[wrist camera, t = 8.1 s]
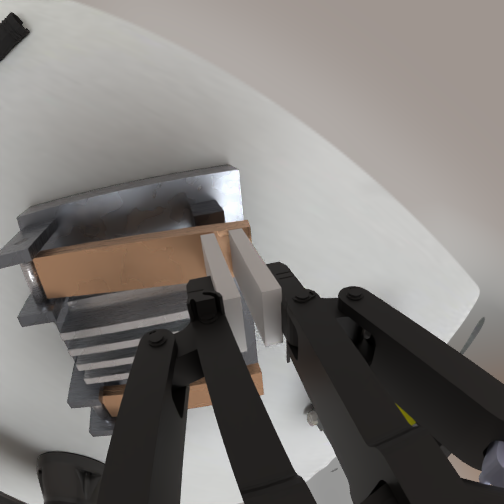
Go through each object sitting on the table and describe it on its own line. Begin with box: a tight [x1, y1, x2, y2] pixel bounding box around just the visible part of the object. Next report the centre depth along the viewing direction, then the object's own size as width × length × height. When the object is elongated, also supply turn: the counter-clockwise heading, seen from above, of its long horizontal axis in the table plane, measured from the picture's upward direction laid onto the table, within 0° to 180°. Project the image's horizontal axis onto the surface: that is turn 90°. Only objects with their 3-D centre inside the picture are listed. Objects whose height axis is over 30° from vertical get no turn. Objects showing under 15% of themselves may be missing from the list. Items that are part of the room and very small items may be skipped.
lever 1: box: [33, 220, 252, 299], centre depth 18 cm, size 14×3×1 cm, turn 95°
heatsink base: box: [0, 165, 258, 437], centre depth 24 cm, size 18×20×9 cm
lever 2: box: [103, 363, 264, 417], centre depth 24 cm, size 14×3×1 cm, turn 94°
